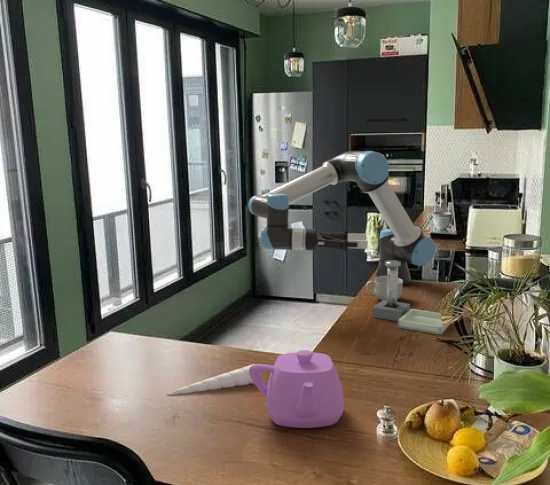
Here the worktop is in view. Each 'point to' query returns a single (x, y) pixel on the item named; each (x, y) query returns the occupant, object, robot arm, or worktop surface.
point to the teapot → (301, 390)
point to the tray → (422, 321)
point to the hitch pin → (392, 282)
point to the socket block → (390, 311)
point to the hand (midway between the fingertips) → (367, 240)
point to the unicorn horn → (219, 382)
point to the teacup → (383, 287)
